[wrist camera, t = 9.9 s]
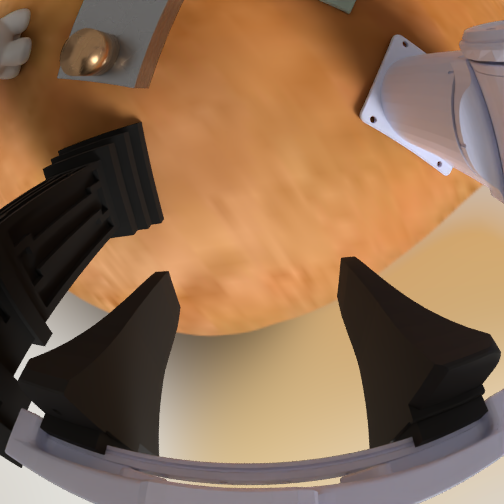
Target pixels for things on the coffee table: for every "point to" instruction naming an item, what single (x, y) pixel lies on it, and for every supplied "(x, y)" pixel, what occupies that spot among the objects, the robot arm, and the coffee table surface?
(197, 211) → the coffee table surface
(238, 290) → the coffee table surface
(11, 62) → the chubby cartoon animal
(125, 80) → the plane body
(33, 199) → the chess piece
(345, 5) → the rubber mat
